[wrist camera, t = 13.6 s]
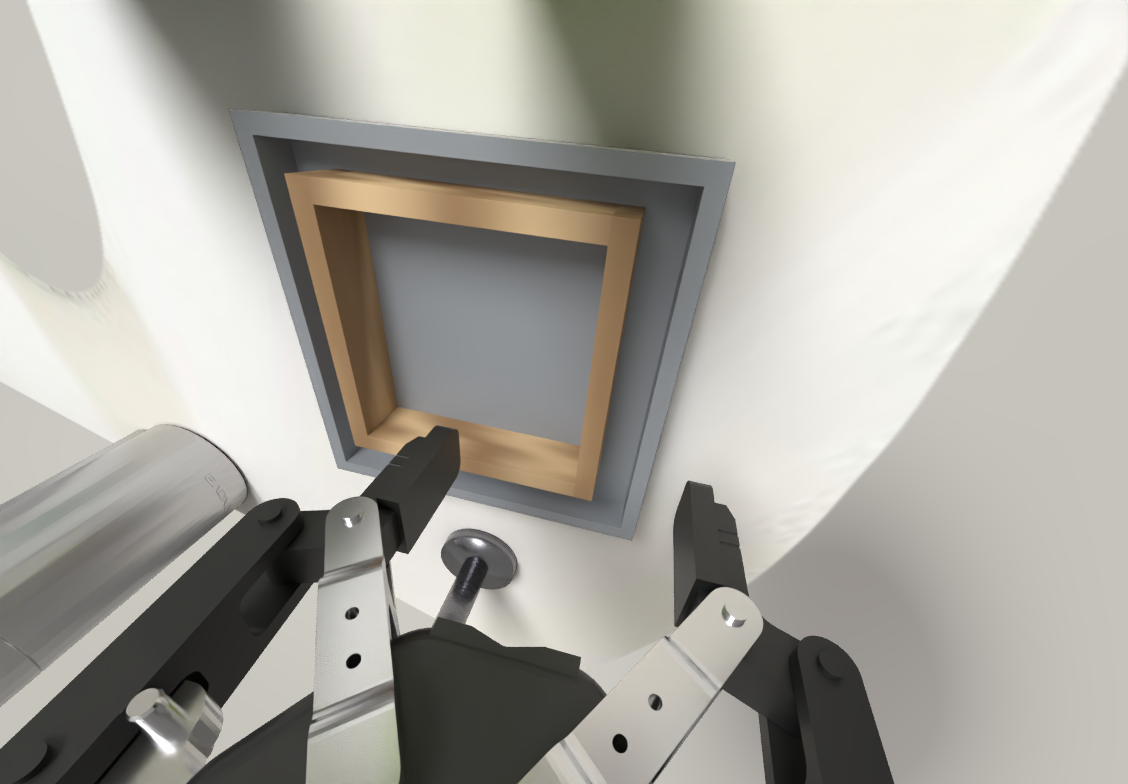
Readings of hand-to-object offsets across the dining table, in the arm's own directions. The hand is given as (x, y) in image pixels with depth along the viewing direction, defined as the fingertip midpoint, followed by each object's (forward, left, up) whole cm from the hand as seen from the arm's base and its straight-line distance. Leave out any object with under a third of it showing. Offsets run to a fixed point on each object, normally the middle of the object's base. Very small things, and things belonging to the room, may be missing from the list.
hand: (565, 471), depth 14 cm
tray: (-6, 0, -9) cm, 11 cm away
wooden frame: (-6, +1, -8) cm, 10 cm away
